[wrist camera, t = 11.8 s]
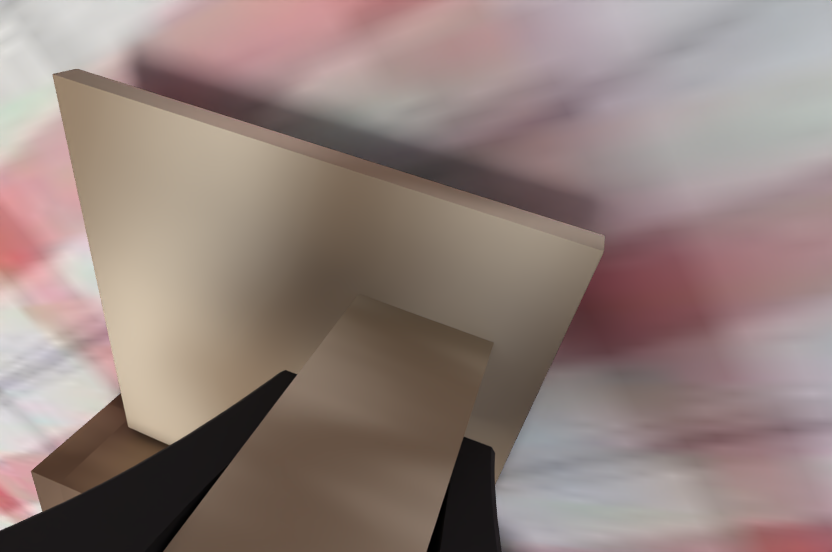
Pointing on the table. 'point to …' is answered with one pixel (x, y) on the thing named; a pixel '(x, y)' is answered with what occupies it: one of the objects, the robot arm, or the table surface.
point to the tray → (92, 456)
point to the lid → (312, 315)
